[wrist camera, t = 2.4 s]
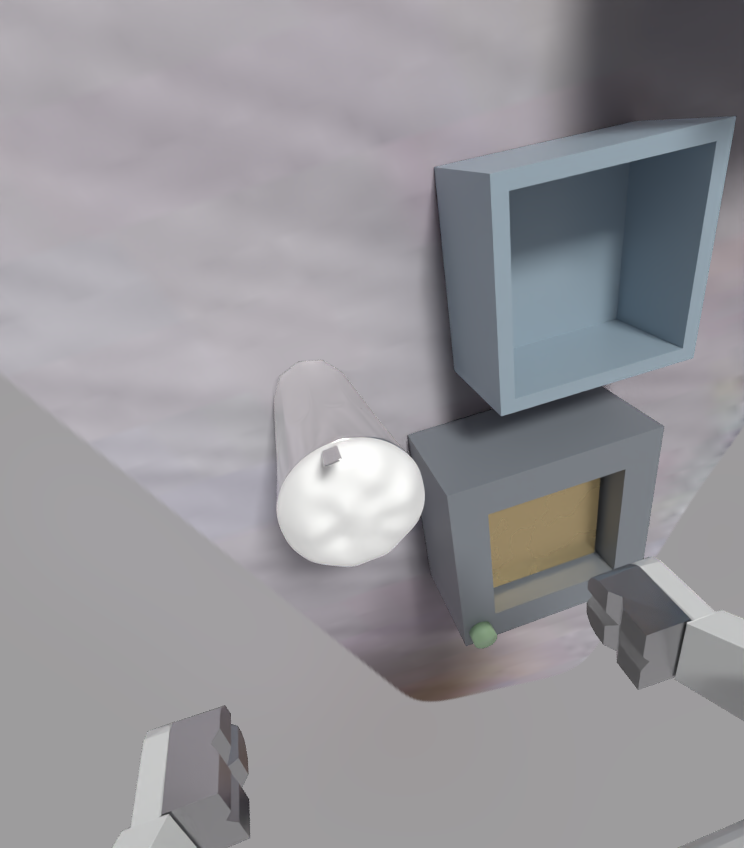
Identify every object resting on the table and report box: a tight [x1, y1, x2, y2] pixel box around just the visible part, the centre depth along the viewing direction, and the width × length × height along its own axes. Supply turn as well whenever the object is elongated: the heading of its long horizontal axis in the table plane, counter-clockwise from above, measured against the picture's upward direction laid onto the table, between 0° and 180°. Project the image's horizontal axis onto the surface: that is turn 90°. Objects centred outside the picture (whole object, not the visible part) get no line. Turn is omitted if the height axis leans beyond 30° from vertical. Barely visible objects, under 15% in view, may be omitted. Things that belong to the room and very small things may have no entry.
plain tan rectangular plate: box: [488, 478, 600, 588], centre depth 25 cm, size 6×6×1 cm
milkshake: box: [274, 360, 425, 567], centre depth 18 cm, size 4×5×10 cm
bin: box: [434, 116, 736, 416], centre depth 20 cm, size 9×9×5 cm
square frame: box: [408, 386, 664, 648], centre depth 25 cm, size 10×10×6 cm
